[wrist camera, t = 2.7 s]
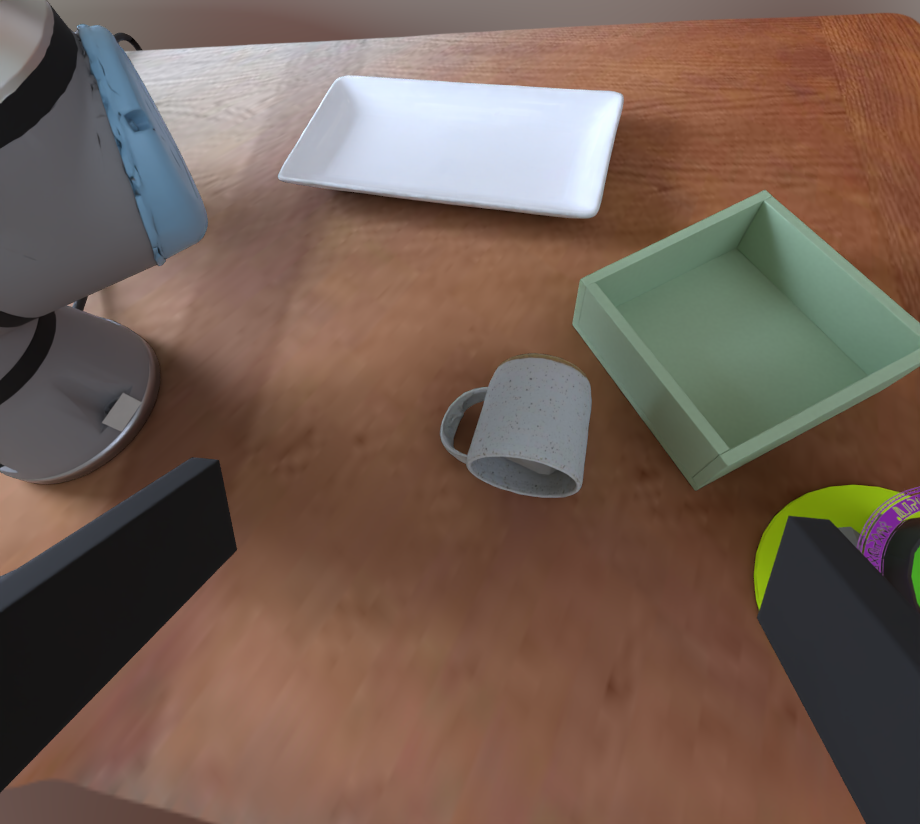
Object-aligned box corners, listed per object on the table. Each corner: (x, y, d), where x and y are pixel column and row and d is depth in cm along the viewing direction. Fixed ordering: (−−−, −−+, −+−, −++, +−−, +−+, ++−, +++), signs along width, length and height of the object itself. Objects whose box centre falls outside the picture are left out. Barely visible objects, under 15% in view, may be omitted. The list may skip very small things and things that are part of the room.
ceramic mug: (588, 402, 36) (602, 350, 30) (575, 505, 33) (587, 474, 26) (456, 384, 39) (440, 331, 32) (432, 479, 36) (409, 444, 29)
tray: (346, 101, 55) (336, 70, 52) (620, 122, 49) (627, 87, 46) (287, 206, 49) (272, 178, 46) (591, 247, 43) (597, 217, 39)
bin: (572, 324, 40) (579, 279, 34) (733, 245, 41) (765, 189, 36) (695, 491, 33) (728, 466, 28) (883, 389, 34) (949, 347, 29)
